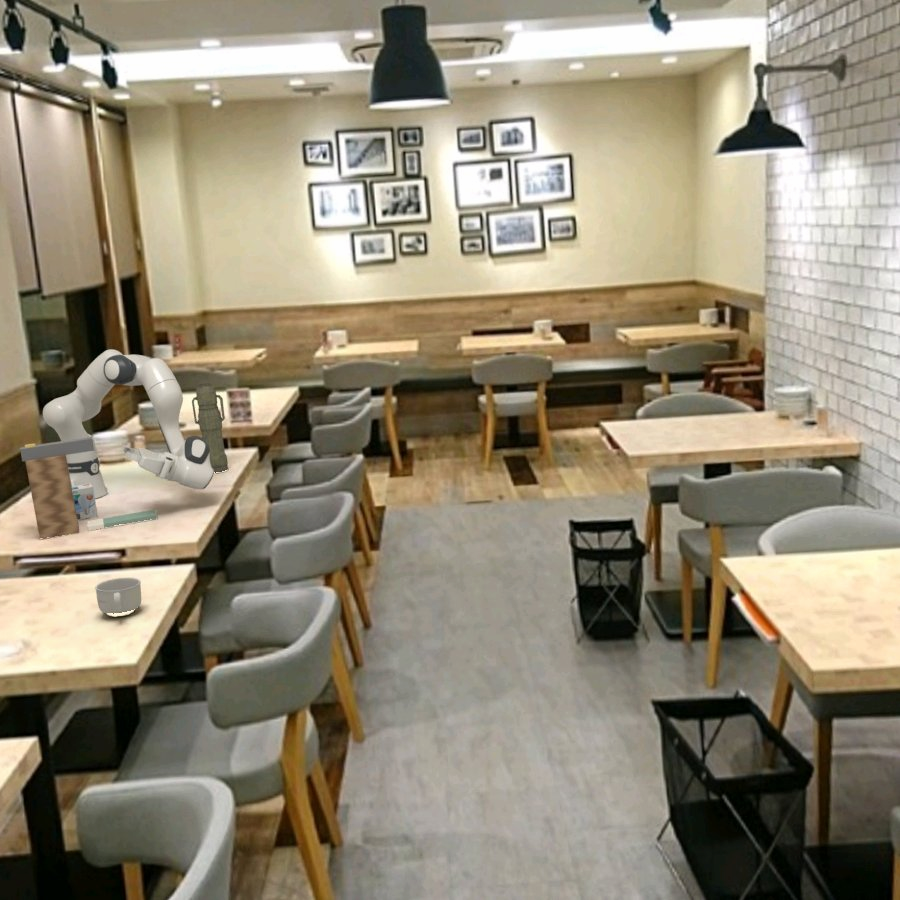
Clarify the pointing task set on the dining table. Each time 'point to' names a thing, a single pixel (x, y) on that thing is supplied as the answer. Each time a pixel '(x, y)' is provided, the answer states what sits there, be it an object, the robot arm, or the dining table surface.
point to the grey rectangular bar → (56, 448)
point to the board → (121, 519)
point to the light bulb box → (84, 501)
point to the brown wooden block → (52, 496)
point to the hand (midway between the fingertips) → (125, 451)
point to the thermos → (211, 424)
